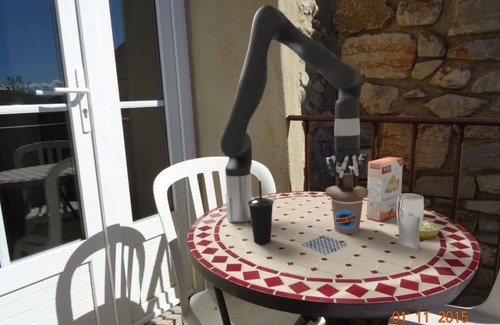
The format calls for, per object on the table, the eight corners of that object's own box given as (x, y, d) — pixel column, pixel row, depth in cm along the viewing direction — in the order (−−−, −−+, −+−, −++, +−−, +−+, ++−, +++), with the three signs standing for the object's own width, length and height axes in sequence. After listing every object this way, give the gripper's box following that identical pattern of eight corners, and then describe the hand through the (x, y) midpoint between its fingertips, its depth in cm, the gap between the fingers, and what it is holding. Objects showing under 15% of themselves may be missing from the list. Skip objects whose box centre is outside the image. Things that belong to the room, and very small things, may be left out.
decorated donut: (445, 233, 105) (445, 222, 105) (430, 243, 99) (430, 231, 98) (411, 225, 113) (411, 214, 113) (395, 234, 107) (396, 223, 106)
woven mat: (298, 250, 99) (298, 243, 99) (322, 240, 105) (322, 234, 105) (325, 262, 91) (325, 255, 91) (350, 251, 97) (350, 244, 97)
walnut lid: (338, 200, 99) (338, 180, 98) (318, 190, 111) (318, 172, 110) (377, 195, 102) (377, 176, 101) (353, 186, 114) (353, 169, 113)
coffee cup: (327, 237, 106) (327, 201, 104) (332, 226, 115) (332, 192, 113) (362, 241, 102) (362, 203, 100) (364, 229, 111) (365, 194, 109)
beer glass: (425, 252, 93) (427, 200, 90) (398, 251, 94) (399, 199, 92) (418, 242, 99) (420, 193, 97) (393, 241, 101) (394, 193, 98)
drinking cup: (257, 252, 98) (254, 185, 94) (245, 243, 105) (242, 180, 101) (279, 246, 101) (277, 181, 98) (267, 238, 108) (264, 177, 104)
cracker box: (381, 222, 117) (382, 163, 113) (365, 218, 121) (366, 161, 118) (401, 213, 125) (403, 157, 121) (386, 209, 130) (387, 156, 126)
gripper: (360, 131, 108) (360, 183, 111) (320, 134, 105) (320, 187, 108) (374, 132, 101) (374, 188, 104) (331, 136, 98) (332, 193, 101)
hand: (346, 187), depth 106 cm, fingers closed on walnut lid, 4 cm apart
